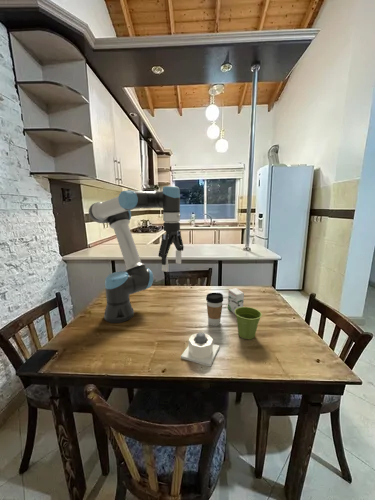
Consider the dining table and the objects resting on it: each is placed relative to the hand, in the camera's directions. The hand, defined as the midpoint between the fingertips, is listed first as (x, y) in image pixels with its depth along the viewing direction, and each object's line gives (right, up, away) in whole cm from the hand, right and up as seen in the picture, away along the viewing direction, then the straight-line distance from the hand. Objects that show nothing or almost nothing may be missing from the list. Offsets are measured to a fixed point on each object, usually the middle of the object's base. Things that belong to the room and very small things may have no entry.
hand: (172, 267), depth 108 cm
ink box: (+34, -26, +21) cm, 47 cm away
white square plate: (+13, -33, -15) cm, 39 cm away
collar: (+13, -33, -15) cm, 38 cm away
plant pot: (+34, -31, -3) cm, 46 cm away
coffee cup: (+21, -29, +8) cm, 36 cm away
